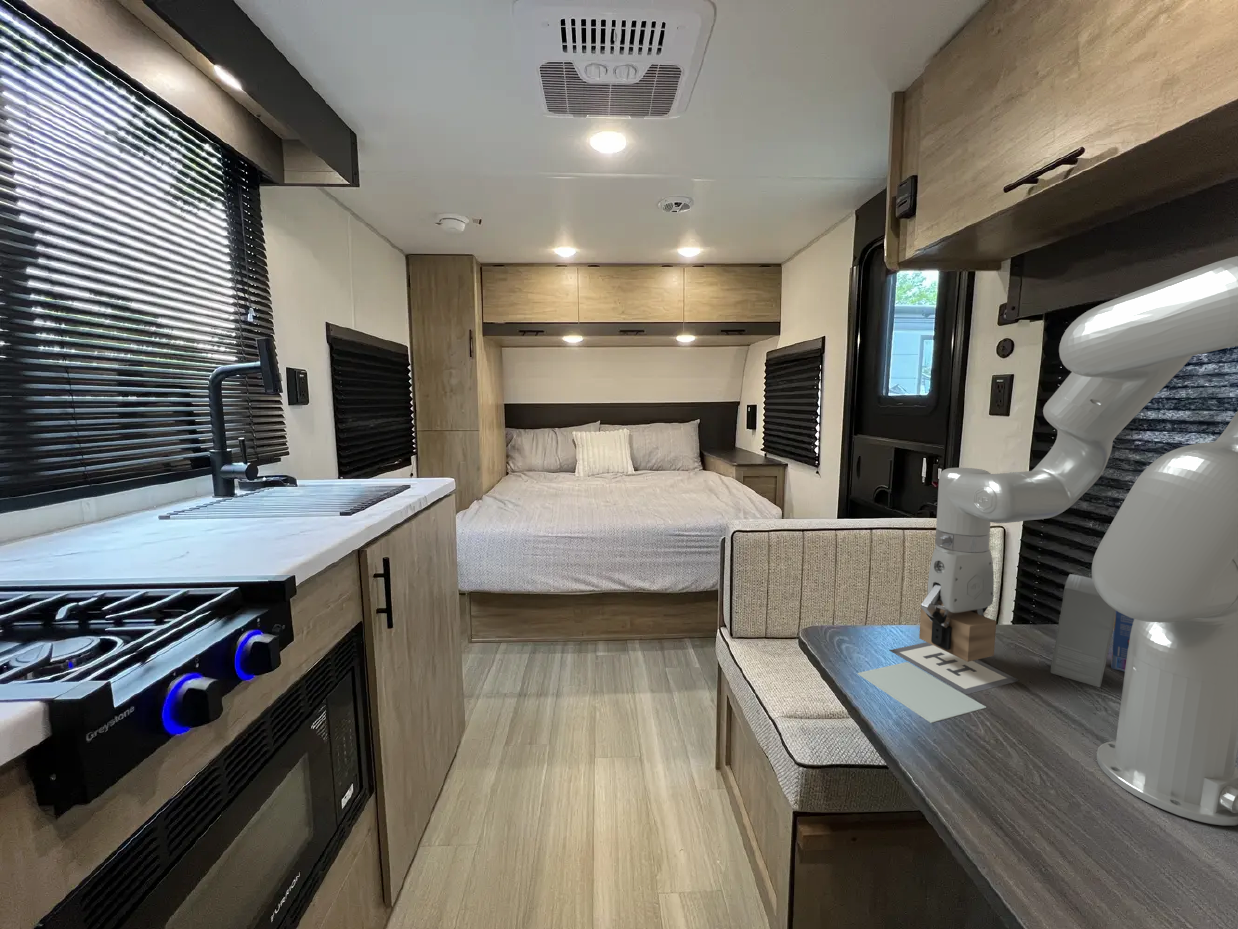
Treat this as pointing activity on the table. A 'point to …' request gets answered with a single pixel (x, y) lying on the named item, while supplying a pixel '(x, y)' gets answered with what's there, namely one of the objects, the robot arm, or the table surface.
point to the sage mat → (921, 692)
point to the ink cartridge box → (1121, 640)
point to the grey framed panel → (954, 668)
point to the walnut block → (965, 634)
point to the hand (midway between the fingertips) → (955, 642)
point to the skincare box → (1083, 633)
